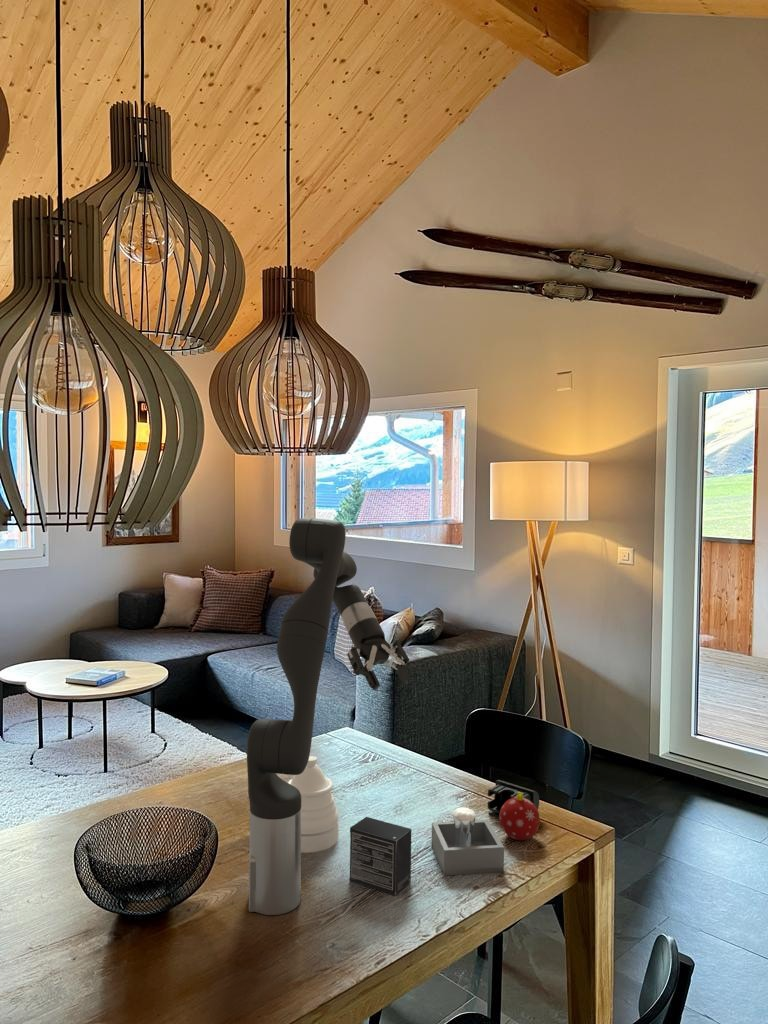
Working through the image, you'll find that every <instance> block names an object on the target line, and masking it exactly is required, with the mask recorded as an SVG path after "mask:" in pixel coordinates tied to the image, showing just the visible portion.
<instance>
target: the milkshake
mask: <svg viewBox="0 0 768 1024" xmlns="http://www.w3.org/2000/svg"><path fill="white" fill-rule="evenodd" d="M480 807H481V806H479V807H478V809H477V811H476V813H475V811H474V810H473V809H471V808H468V807H458V808H456V809H455V810H454V811H453V815H452V817H453V818H452V819H453V822H454V833H455V847H470V846H473V835H474V825H475V820H476V816H477V814H478V811H479V810H480Z"/></svg>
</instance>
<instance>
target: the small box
mask: <svg viewBox="0 0 768 1024" xmlns="http://www.w3.org/2000/svg"><path fill="white" fill-rule="evenodd" d="M349 833H350V834H349V837H350V838H349V839H350V840H349V841H350V842H349V843H350V844H349V846H350V847H349V879H348V880H349V881H350V882H352V883H356V884H359V885H362V886H365V887H367V888H368V887H369V888H372V889H375V890H376V891H377V890H378V891H381V892H383V893H387V894H390V895H392V896H397V895H399V893H400V892H401V891H402V890H403V889H404V888H405V887H406V886H408V885H409V884H410V883H411V882H412V878H411V877H412V828H408V827H404V826H401V825H397V824H394V823H391V822H386V821H385V820H384V821H383V820H379V819H376V818H372V817H369V816H366V817H364V818H362V819H361V820H359V821H358V822H356V823H355V824H353V825H352V826H350V828H349Z"/></svg>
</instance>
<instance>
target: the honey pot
mask: <svg viewBox="0 0 768 1024" xmlns="http://www.w3.org/2000/svg"><path fill="white" fill-rule="evenodd" d="M317 761H318V757H317V756H315V755H309V760H308V763H307V766H306V768H305V770H304V771H303V772H302V773H301V774H299V775H293V777H292V778H290V780H288V781H287V783H289V784H291V785H293V786H294V787H296V788H297V789H298V790H299V791H300V794H301V853H307V854H309V853H316V852H322V851H325V850H328V849H330V848H331V847H333V846H335V845H336V844H337V842H338V840H339V837H340V836H339V829H340V828H339V827H340V826H339V817H340V815H339V810H338V809H337V806H336V801H335V798H334V797H335V796H334V795H333V794H332V790H333V788H334V782H333V781H332V779H330V778H329V777H327V776H325V774H324V772H323V771H322V769H321V767H320V765H318V764H317Z"/></svg>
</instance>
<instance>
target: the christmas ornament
mask: <svg viewBox="0 0 768 1024" xmlns="http://www.w3.org/2000/svg"><path fill="white" fill-rule="evenodd" d="M519 793H520V794H521V795H520V794H519ZM540 818H541V817H540V812H539V809H538V810H537V808H536V807H535V805H534V804H533V803H532V802H531V801H529V800H528V799H525V798H523V793H521V792H518V793H517V797H515V798H511V799H509V800H508V801H506V802H505V803H504V805H503V806H502V808H501V810H500V814H499V818H498V819H499V824H500V827H501V829H502V830H503V832H504V833H505V834H506V835H507V836H508V837H510V838H511V839H513V840H516V841H525V840H528V839H530V838H532V837H533V836H534V835H535V834H536V833H537V831H538V829H539V828H540V821H541V819H540Z"/></svg>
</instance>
